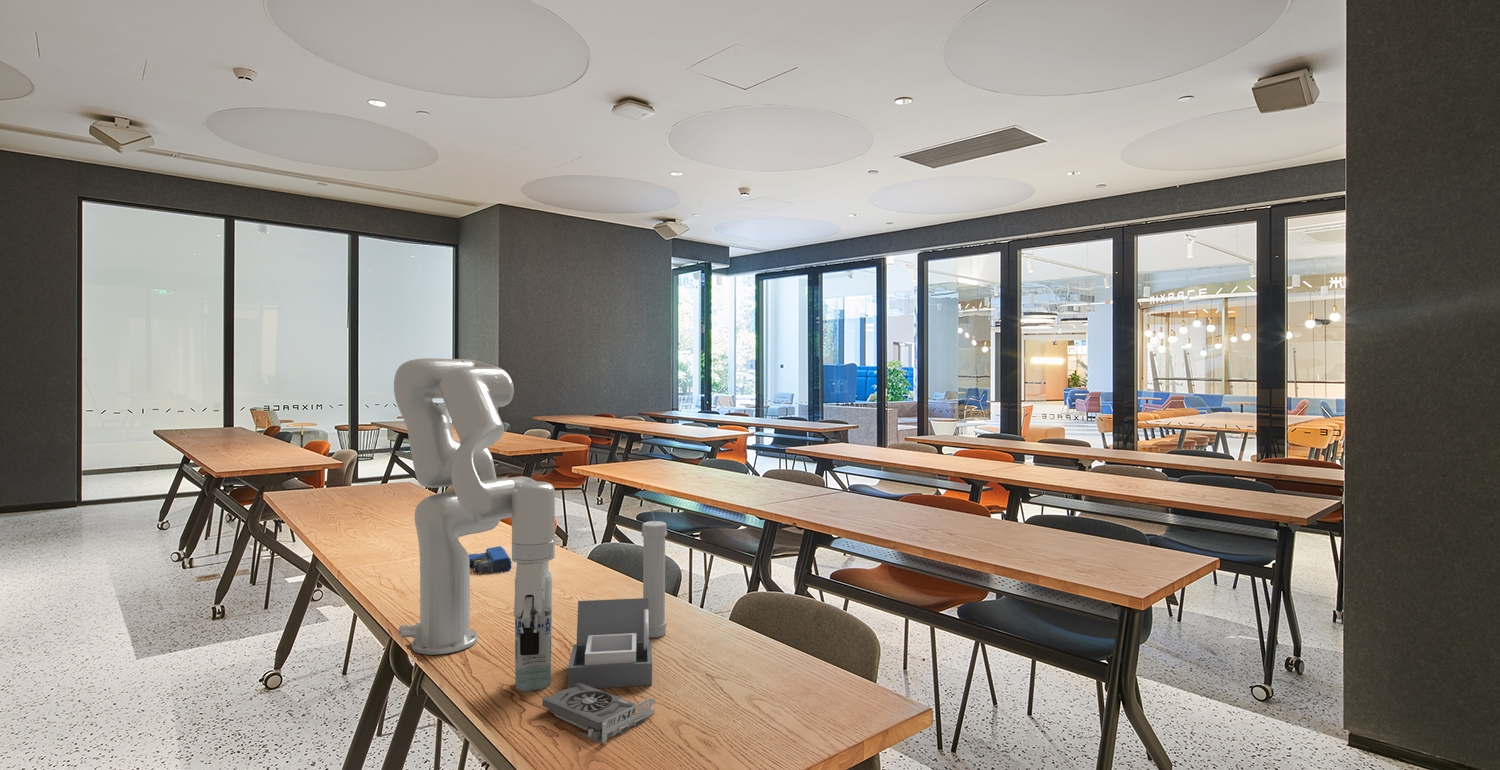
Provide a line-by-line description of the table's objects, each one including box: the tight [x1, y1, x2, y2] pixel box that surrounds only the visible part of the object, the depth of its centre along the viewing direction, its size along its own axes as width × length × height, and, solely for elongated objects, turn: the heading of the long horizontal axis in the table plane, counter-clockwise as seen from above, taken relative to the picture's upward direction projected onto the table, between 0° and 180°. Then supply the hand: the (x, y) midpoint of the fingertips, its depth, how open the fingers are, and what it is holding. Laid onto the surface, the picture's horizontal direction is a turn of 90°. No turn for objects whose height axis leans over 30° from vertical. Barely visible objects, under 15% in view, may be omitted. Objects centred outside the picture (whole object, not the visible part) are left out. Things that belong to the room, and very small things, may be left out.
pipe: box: [639, 496, 668, 639], centre depth 154 cm, size 6×6×30 cm
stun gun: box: [468, 545, 513, 575], centre depth 205 cm, size 4×16×15 cm
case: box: [567, 597, 653, 689], centre depth 136 cm, size 15×16×11 cm
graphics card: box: [541, 683, 656, 745], centre depth 118 cm, size 17×4×12 cm
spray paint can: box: [514, 571, 553, 692], centre depth 129 cm, size 6×6×20 cm
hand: (533, 644), depth 129 cm, fingers open, 8 cm apart
